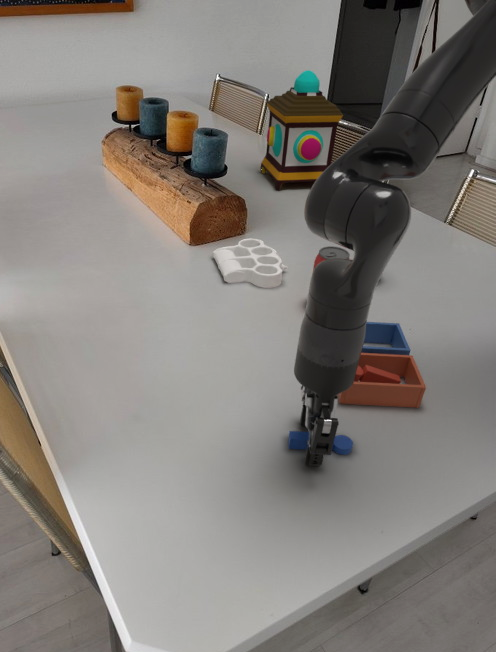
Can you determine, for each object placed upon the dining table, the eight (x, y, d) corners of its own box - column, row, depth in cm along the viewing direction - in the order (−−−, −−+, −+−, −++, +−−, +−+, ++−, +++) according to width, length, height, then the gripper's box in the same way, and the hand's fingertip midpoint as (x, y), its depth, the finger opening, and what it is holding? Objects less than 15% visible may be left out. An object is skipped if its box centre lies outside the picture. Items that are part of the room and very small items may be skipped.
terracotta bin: (405, 377, 90) (412, 355, 87) (418, 410, 83) (426, 387, 80) (331, 373, 90) (336, 351, 87) (338, 406, 83) (343, 383, 80)
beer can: (299, 306, 106) (308, 249, 99) (324, 298, 109) (334, 242, 102) (323, 322, 102) (334, 263, 95) (348, 312, 105) (360, 255, 98)
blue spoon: (288, 454, 75) (290, 442, 73) (287, 440, 77) (289, 427, 75) (352, 458, 75) (355, 445, 73) (349, 443, 77) (352, 431, 75)
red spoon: (390, 383, 87) (398, 372, 86) (394, 395, 85) (402, 384, 84) (341, 368, 85) (348, 356, 84) (344, 379, 83) (351, 367, 82)
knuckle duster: (209, 254, 123) (271, 250, 126) (227, 293, 109) (296, 288, 112) (210, 240, 121) (272, 236, 124) (228, 278, 107) (298, 273, 110)
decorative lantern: (338, 192, 159) (358, 77, 141) (273, 194, 155) (285, 77, 137) (314, 170, 175) (329, 64, 156) (254, 172, 171) (263, 63, 152)
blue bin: (393, 344, 97) (399, 323, 94) (403, 372, 91) (410, 350, 88) (324, 340, 97) (328, 319, 94) (330, 368, 91) (335, 346, 88)
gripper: (372, 385, 59) (344, 485, 70) (351, 316, 71) (330, 411, 81) (303, 381, 59) (285, 482, 70) (293, 313, 71) (280, 408, 81)
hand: (309, 443), depth 75 cm, fingers open, 7 cm apart
